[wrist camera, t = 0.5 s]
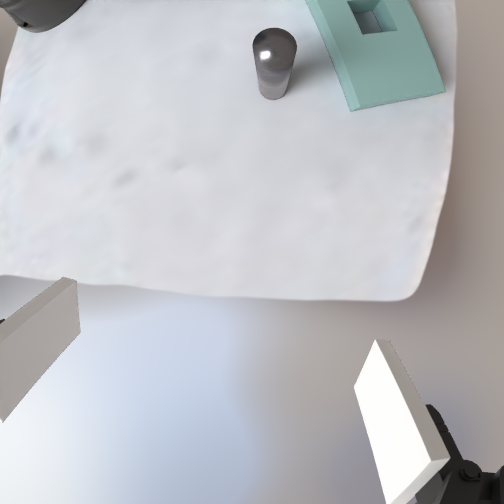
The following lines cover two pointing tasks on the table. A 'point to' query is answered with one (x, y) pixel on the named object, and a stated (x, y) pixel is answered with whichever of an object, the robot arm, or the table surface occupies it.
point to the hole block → (377, 52)
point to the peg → (274, 61)
